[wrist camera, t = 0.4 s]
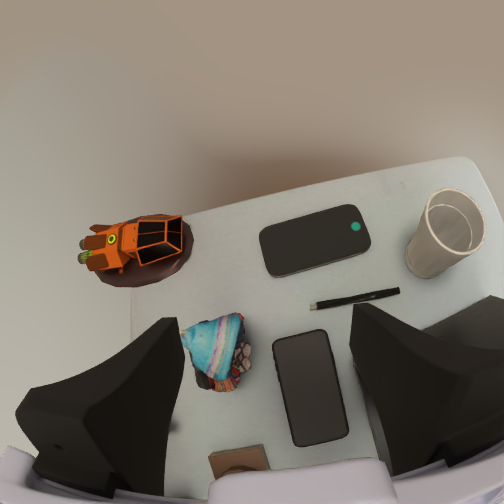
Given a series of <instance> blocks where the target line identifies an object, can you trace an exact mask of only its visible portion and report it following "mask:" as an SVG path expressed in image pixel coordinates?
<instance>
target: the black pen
mask: <svg viewBox="0 0 504 504" xmlns="http://www.w3.org/2000/svg"><path fill="white" fill-rule="evenodd" d="M399 293H400V289H399V287H397V288H391V289H385V290H380V291H374V292H370V293H365V294H360V295H356V296H352V297H346V298H339V299H332V300H326V301H321V302H316V303H314V304H310V310H313V309H317V310H319V309H324V308H330V307H336V306H341V305H345V304H349V303H356V302H362V301H368V300H373V299H378V298H383V297H387V296H391V295H395V294H399Z"/></svg>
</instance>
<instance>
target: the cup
mask: <svg viewBox="0 0 504 504" xmlns="http://www.w3.org/2000/svg"><path fill="white" fill-rule="evenodd" d="M485 235H486V224H485V219H484V216H483V214H482V211H481V210H480V208H479V206H478V205H477V204H476V202H475V201H474V200H473V199H472V198H471V197H470V196H468V195H467V194H465V193H464V192H462V191H459V190H457V189H452V188H445V189H440V190H438V191H436V192H435V193H433V194H432V195H431V196H430V198H429V199H428V201H427V204H426V206H425V209H424V211H423V214H422V216H421V219H420V222H419V225H418V227H417V229H416V231H415V233H414V235H413V237H412V239H411V241H410V242H409V244H408V245H407V248H406V251H405V260H406V263H407V266H408V268H409V269H410V270H411V272H412V273H413V274H415V275H416V276H418V277H420V278H423V279H430V278H434V277H435V276H437V275H438V274H439V273H441V272H442V271H444V270H446V269H447V268H449V267H451V266H452V265H454V264H456V263H457V262H459V261H460V260H462V259H464V258H465V257H467V256H469V255H470V254H472V253H474V252H475V251H477V250H478V249H479V248H480V247H481V245H482V244H483V242H484V239H485Z"/></svg>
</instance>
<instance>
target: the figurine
mask: <svg viewBox="0 0 504 504" xmlns="http://www.w3.org/2000/svg"><path fill="white" fill-rule="evenodd" d="M243 319H244V317H243V316H241V314H240V313H236V312H235V313H232V314H229V315H226V316H222V317H219V318H217V319H215V320H212V321H208V320H205V321H202V322H199V324H196V325H193V326H192V327H190V328H188V329H186V330H180V331H179V332H180V336H181V341H182V345H183V346H184V347H186V348H187V349H188V350H189V353H190V358H191V362H192V365H193V367H194V369H195V376H196V382H197V384H198V386H199V387H200V388H203V389H206V390H208V389H212V390H214V391H217V392H229V391H233V389H234V388H237V385H238V383H239V381H240V374H241V373H243V372H246V371H248V370H249V369H250V368H251V361H250V360H249V359H248V358H249V356H250V355H251V352H252V351H251V346H250V345H249V343H241V341H243V340H244V333H245V329H244V325H243Z"/></svg>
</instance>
